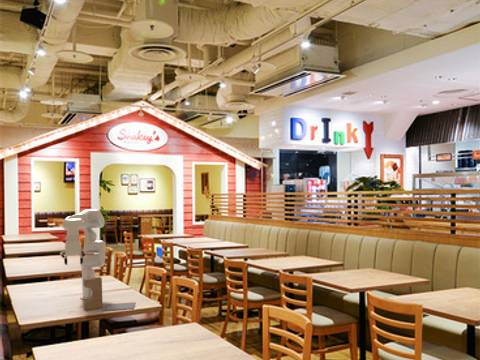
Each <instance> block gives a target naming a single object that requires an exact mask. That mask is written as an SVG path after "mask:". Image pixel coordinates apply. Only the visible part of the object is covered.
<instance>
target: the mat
mask: <svg viewBox="0 0 480 360" xmlns="http://www.w3.org/2000/svg"><path fill="white" fill-rule="evenodd" d="M135 306H136V301H134V302H133V301H132V302H122V303H118V302H117V303H106V304H104V306H103V308H102V310H101V311H102V312H110V311H124V310H125V311H126V310H134V309H135Z"/></svg>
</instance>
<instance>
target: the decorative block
mask: <svg viewBox="0 0 480 360" xmlns="http://www.w3.org/2000/svg"><path fill="white" fill-rule="evenodd" d="M83 284H84V287H87V288H90V289H91V290H92V296H91V298H90V299H87V300H85V301H84V302H83V305H84V307H83V309H84V310H85V311H91V310H97V309H103V308H104V306H103V303H104V302H103V279H102V277H100V276H96V277H95V278H87V279H83Z"/></svg>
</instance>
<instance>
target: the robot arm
mask: <svg viewBox="0 0 480 360" xmlns="http://www.w3.org/2000/svg"><path fill="white" fill-rule="evenodd" d="M105 221H106V220H105V218H104V216H103V214H102V212H101V211H100V210H99V209H97V208H95V209H94V208H93V209H92V208H90V209H84V210H81V212H79V213H77V214H73V215H69V216H67V217H66V218H65V219H63V222H62V228H63V229H64V230H66V236H64V239H65V244H64V249H63V250H62V251H60V252H59V254H60V256H61V258H63V260H64V265H65V266H68V258H67V257H72V256H73V257H75V256H77V257H78V256H79V257H80V258H79V263H80V267H81V285H82V286H81V287H82V295H81V296H80V299H81V300H89V299H90V298H91V296H92V290H91V289H90V288H87V287H84V284H83V279H87V278H95V277H97V275H96V271H95V269H93V268H101V267H104V265H105V263H106V252H107V244H106V241H105V240H101V239H99V240H98V239H97V236H98V235H97V233H96V232H95V230H93V229H102V228H104V227H105V224H106V222H105ZM79 230H83V232H84V240H83V241H84V242H83V248H82V244H81V239H80V234H79V233H80V232H79ZM82 252H83V254H82Z"/></svg>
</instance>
